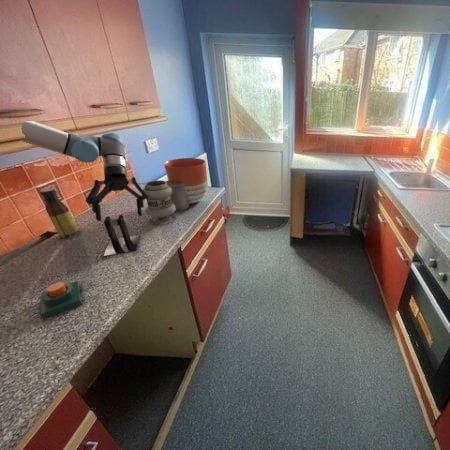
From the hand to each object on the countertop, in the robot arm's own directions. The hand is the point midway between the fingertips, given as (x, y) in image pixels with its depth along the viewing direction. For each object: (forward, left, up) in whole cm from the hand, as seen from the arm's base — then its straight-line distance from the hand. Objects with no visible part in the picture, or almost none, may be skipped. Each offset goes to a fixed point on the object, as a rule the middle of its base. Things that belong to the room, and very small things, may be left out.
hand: (119, 217), depth 97 cm
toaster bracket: (+8, -2, -9) cm, 12 cm away
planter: (-22, +34, -9) cm, 42 cm away
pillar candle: (-18, +26, -10) cm, 33 cm away
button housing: (+29, -20, -9) cm, 36 cm away
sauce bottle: (-15, -17, -10) cm, 25 cm away
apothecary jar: (-7, +16, -9) cm, 20 cm away
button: (+29, -20, -6) cm, 36 cm away
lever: (+3, -1, -2) cm, 4 cm away
